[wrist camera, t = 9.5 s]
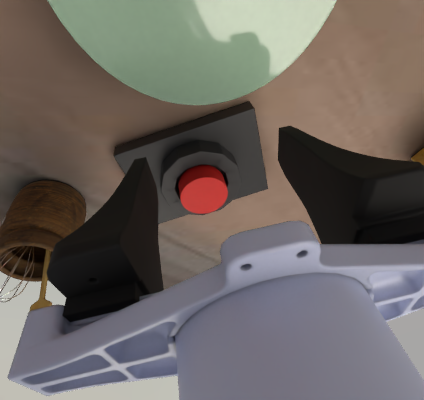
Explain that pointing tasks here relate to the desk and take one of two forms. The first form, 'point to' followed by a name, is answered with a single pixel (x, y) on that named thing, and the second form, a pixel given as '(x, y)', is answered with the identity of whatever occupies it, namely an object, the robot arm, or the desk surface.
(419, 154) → the yellow toy chair
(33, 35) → the desk surface
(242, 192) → the button box
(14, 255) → the utensil holder
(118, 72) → the lid
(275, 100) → the desk surface
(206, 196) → the button
